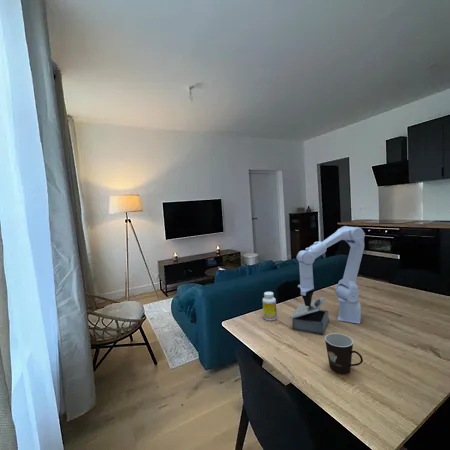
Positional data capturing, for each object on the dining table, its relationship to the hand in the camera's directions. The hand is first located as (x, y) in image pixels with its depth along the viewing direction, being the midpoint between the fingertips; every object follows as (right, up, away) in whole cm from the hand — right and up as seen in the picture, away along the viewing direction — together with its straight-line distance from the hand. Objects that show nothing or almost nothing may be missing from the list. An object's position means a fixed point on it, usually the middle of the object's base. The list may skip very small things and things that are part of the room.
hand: (307, 305), depth 114 cm
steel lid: (0, -1, 0) cm, 1 cm away
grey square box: (+2, -9, 0) cm, 9 cm away
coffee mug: (+1, -12, -32) cm, 34 cm away
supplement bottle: (-15, -10, +10) cm, 21 cm away
